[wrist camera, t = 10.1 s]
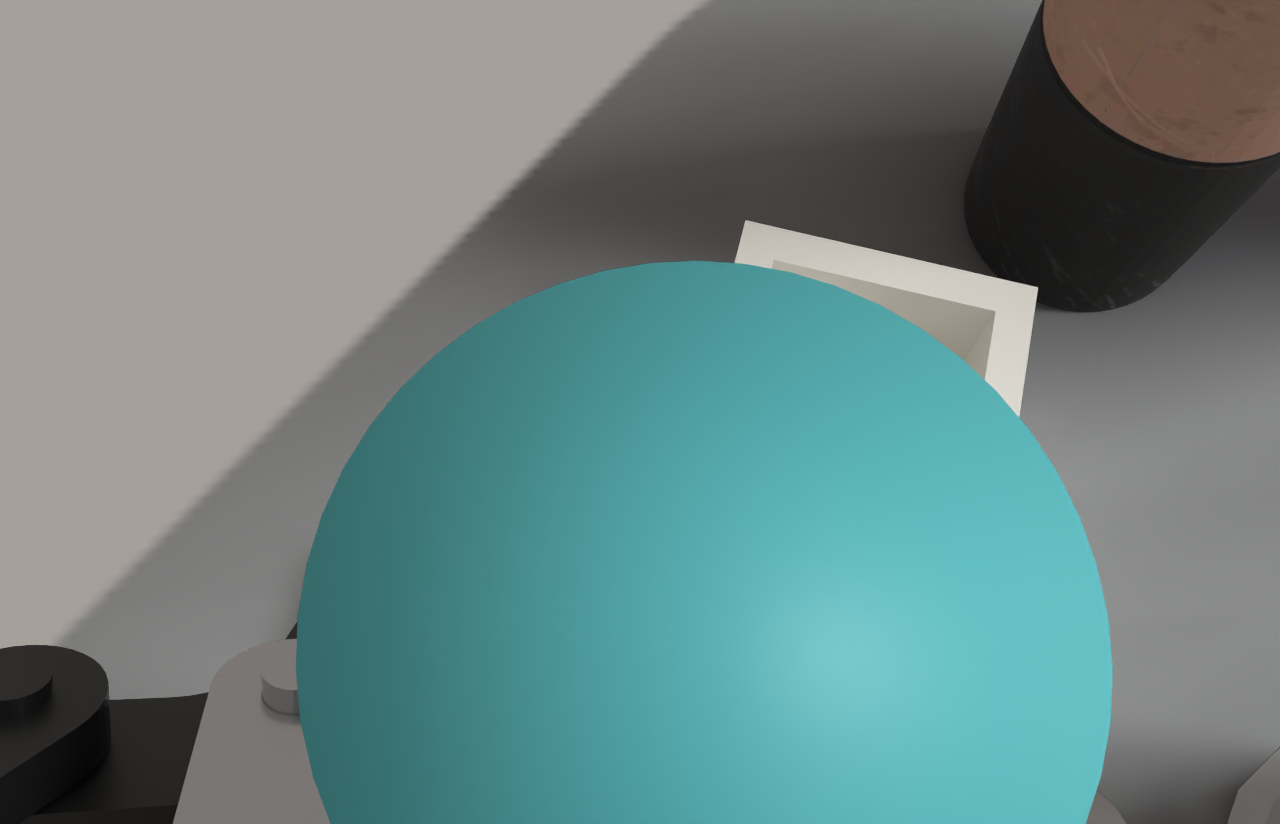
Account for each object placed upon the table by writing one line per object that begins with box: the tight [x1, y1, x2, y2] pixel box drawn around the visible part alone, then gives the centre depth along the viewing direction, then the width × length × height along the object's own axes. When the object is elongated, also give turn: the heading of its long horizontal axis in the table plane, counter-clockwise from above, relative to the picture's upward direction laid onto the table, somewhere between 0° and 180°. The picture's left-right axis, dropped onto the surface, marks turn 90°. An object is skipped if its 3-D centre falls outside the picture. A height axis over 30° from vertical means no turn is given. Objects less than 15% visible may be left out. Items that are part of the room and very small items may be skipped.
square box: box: [735, 220, 1038, 417], centre depth 33 cm, size 8×8×5 cm
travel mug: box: [964, 0, 1280, 311], centre depth 29 cm, size 8×8×20 cm
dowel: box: [296, 261, 1113, 824], centre depth 12 cm, size 4×4×14 cm
